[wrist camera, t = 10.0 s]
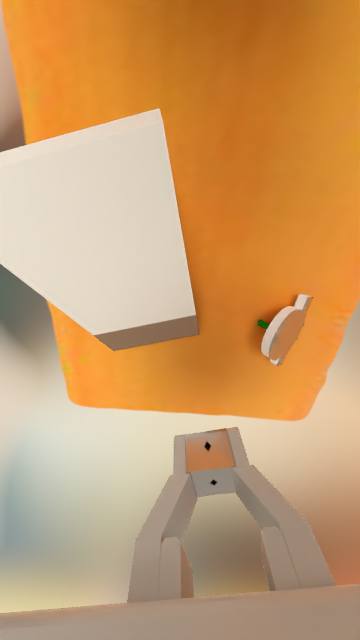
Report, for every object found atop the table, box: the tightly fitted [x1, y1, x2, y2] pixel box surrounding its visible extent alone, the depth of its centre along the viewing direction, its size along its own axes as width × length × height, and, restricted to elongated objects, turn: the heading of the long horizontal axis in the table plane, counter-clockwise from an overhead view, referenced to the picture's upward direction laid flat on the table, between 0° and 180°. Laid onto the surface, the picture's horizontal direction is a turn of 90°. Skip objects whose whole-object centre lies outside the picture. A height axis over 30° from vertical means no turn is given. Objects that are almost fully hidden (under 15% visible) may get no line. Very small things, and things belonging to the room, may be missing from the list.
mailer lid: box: [0, 108, 199, 351], centre depth 26 cm, size 30×17×3 cm
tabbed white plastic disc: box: [258, 294, 313, 366], centre depth 38 cm, size 15×8×11 cm
